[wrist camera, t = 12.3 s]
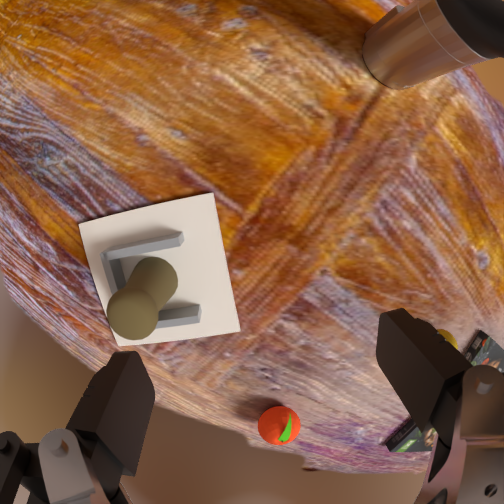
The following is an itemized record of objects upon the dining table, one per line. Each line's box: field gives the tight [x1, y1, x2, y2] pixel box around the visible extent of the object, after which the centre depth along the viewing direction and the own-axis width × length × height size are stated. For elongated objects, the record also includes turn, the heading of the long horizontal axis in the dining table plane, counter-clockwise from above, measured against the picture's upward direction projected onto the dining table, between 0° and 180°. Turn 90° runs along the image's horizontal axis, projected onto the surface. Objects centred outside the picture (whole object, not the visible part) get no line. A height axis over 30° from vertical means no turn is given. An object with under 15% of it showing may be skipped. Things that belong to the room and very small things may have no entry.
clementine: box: [258, 406, 300, 445], centre depth 38 cm, size 8×7×7 cm
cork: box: [106, 257, 178, 340], centre depth 28 cm, size 6×6×11 cm
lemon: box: [437, 329, 458, 349], centre depth 37 cm, size 6×6×8 cm
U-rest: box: [79, 192, 240, 346], centre depth 32 cm, size 18×18×4 cm
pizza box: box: [386, 330, 504, 452], centre depth 48 cm, size 35×35×4 cm
